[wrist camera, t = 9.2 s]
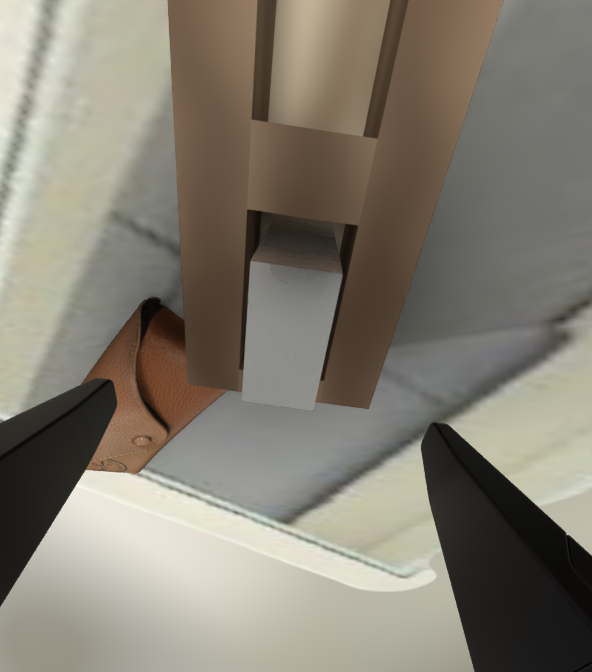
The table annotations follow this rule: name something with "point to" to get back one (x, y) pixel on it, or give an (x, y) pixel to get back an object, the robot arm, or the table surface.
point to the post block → (314, 157)
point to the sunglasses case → (147, 389)
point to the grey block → (290, 312)
